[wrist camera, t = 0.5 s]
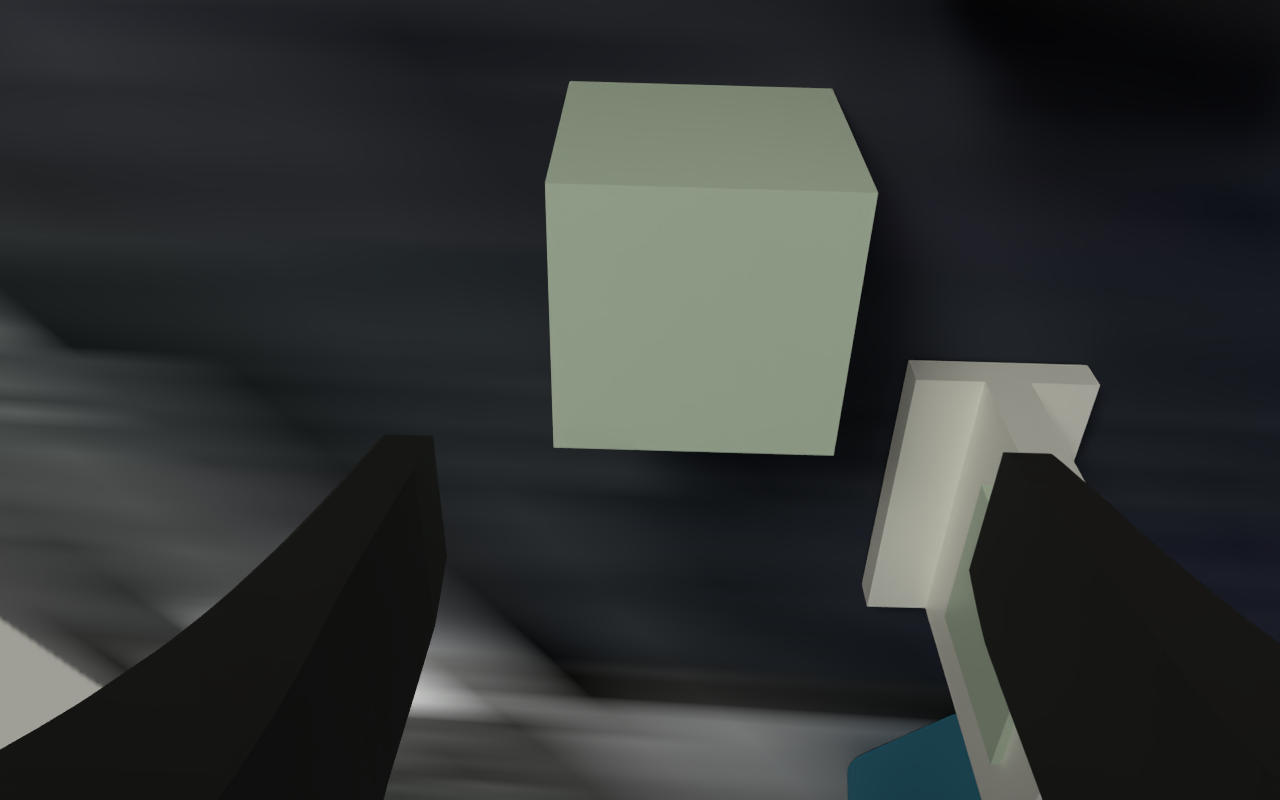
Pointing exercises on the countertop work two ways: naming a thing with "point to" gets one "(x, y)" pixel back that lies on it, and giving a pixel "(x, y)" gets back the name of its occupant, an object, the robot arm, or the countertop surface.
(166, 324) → the countertop surface
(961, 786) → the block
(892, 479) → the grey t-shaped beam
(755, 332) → the sage cube
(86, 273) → the countertop surface
